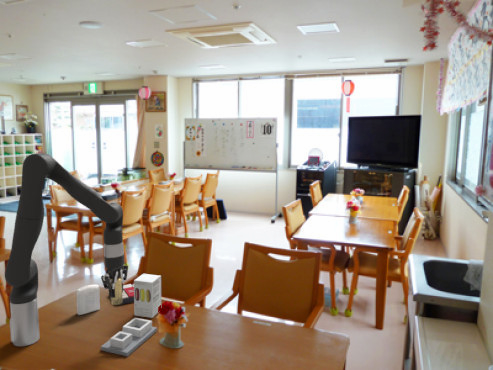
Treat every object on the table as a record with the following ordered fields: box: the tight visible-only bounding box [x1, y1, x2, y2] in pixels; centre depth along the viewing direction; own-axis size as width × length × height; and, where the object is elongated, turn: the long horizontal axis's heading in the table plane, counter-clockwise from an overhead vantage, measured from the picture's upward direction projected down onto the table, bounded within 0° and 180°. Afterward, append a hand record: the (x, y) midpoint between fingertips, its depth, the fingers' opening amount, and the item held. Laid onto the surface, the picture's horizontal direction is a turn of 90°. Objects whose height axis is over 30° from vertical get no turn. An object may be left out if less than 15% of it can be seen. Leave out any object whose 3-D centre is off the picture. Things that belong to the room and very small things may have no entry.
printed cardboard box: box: [118, 283, 134, 306], centre depth 194 cm, size 11×4×15 cm
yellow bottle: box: [110, 277, 123, 306], centre depth 154 cm, size 4×4×12 cm
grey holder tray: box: [100, 317, 158, 357], centre depth 155 cm, size 12×20×4 cm, turn 161°
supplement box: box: [133, 273, 162, 319], centre depth 177 cm, size 10×9×17 cm
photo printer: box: [76, 284, 101, 316], centre depth 178 cm, size 10×4×12 cm, turn 134°
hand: (116, 294), depth 155 cm, fingers closed on yellow bottle, 4 cm apart
